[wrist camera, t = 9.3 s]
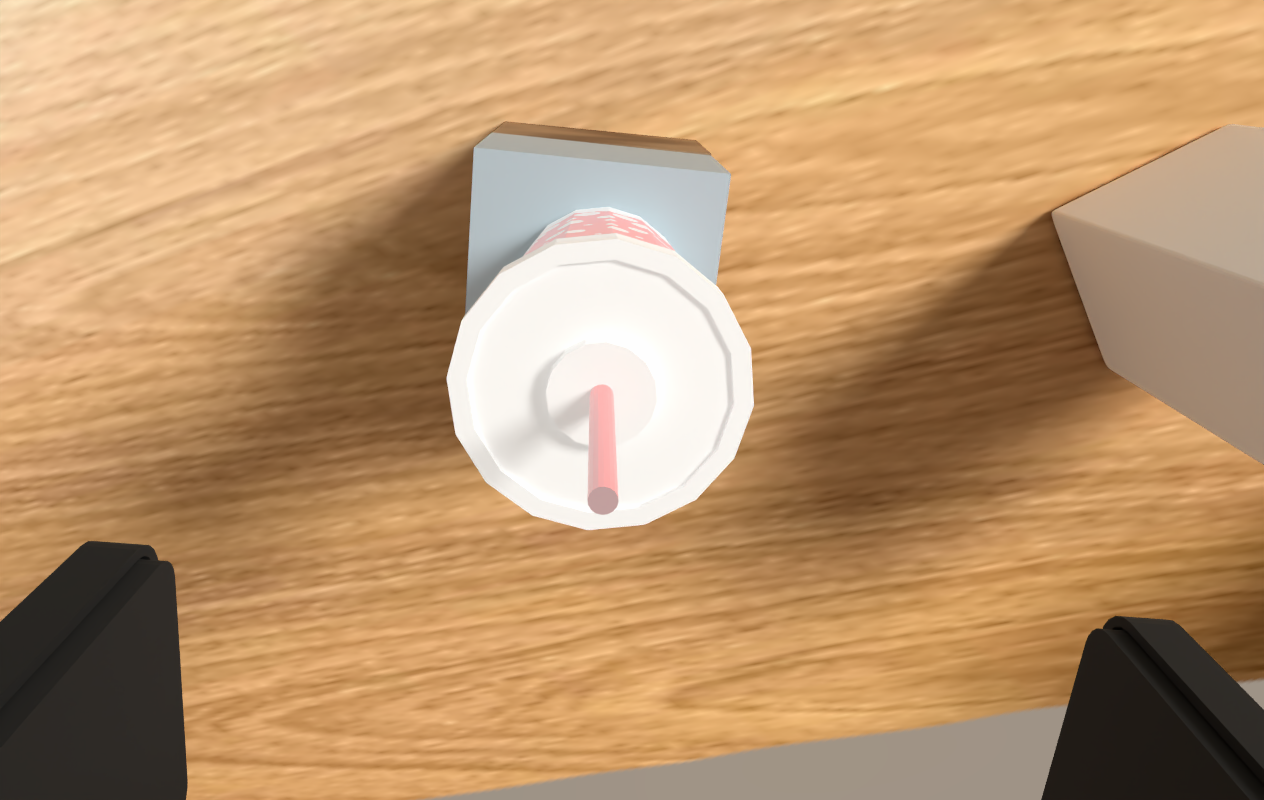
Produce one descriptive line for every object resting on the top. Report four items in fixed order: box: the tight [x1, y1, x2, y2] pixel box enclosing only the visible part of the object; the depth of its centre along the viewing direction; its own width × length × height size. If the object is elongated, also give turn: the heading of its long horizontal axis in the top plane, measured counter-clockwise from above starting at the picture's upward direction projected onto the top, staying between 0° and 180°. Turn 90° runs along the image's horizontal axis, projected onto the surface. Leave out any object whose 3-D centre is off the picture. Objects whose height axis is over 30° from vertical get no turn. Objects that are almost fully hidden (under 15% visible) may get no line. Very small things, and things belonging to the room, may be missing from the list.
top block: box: [465, 132, 731, 315], centre depth 31 cm, size 7×7×5 cm
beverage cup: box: [447, 207, 754, 530], centre depth 22 cm, size 6×6×14 cm
